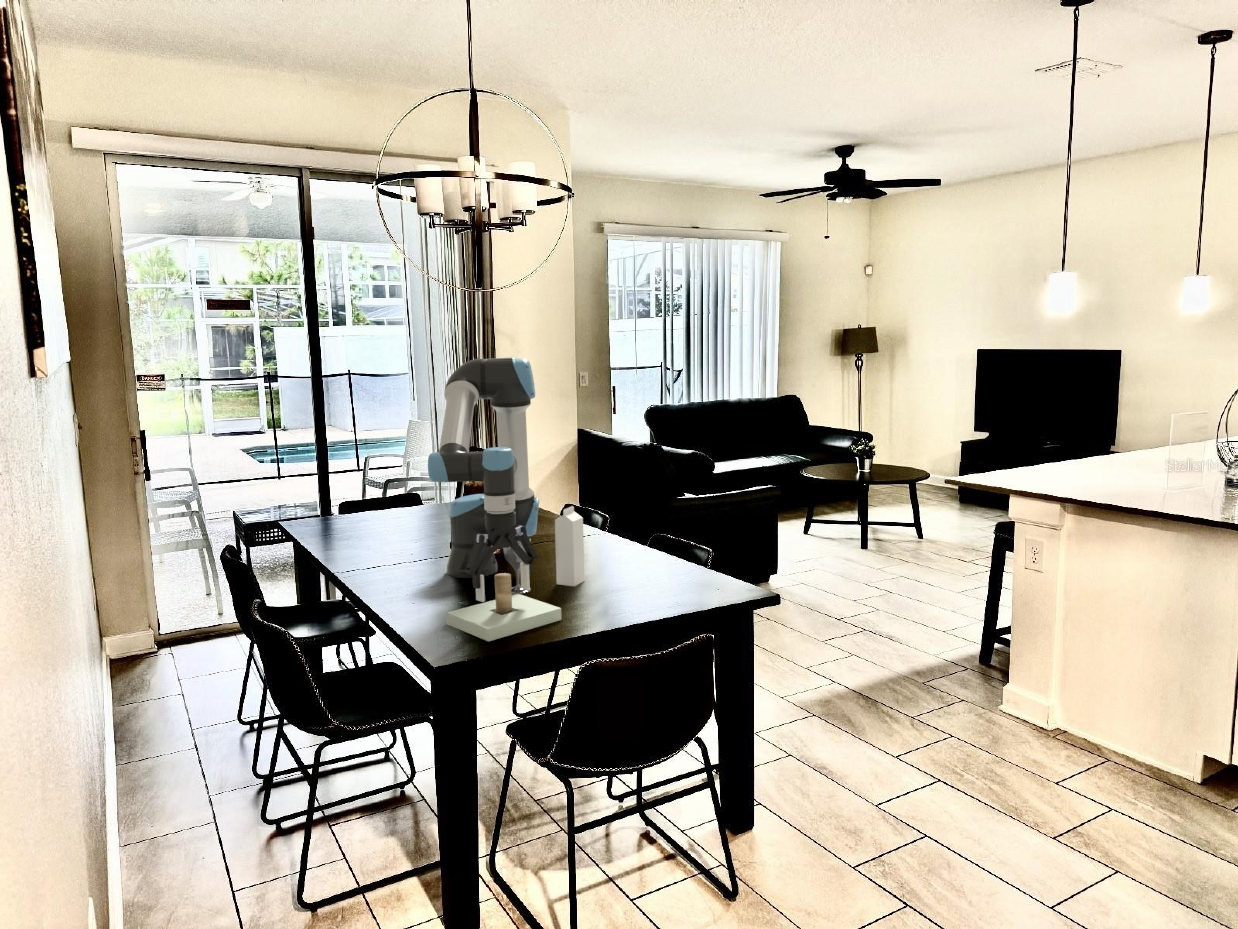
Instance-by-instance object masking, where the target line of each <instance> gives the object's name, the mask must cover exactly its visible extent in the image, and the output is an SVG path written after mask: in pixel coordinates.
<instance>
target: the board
mask: <svg viewBox="0 0 1238 929" xmlns="http://www.w3.org/2000/svg"><path fill="white" fill-rule="evenodd" d="M558 621H562V608H561V607H559V606H555V605H553V604H550V603H548V602H544V601H540V600H538V599H535V598H532V597H529V596H527V595H523V594H512V612H511V613H508V614H504V615H500V614H497V613H496V599H493V600H489V601H484V602H481V603H477V604H473V605H470V606H466V607H462V608H458V609H455V610H451V611H448V612H447V611H446V625H448V626H451V627H453V628H455V629H458V630H461V631H462V632H465V633H467V634H470V635H472V636H475V637H477V638H478V639H481V640H484V641H486V642H491V641H495V640H497V639H499V640H500V639H501V638H504V637H505V638H506V637H509V636H512V635H515V634H517V633H522V632H525V631H528V630H532V629H535V628H536V629H537V628H539V627H542V626H546V625H548V624H552V623H554V622H555V623H556V622H558Z"/></svg>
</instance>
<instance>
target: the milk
mask: <svg viewBox="0 0 1238 929" xmlns="http://www.w3.org/2000/svg"><path fill="white" fill-rule="evenodd" d="M562 514H563V515H561V516H559V517H558V518H555V519H554V532H555V533H554V535H555V537H554V538H555V540H554V541H555V542H554V543H555V569H556V571H555V572H556V573H555V575H556V576H555V577H556V585H561V586H567V587H568V586H569V587H577V586H578V585H580V584H582V583H583V582H585V557H584V556H585V553H584V552H585V550H584V549H585V548H584V546H585V545H584V517H582V515H580V514H579V513H577V512H576V511H575V507H574V506H573V505H571V506H569V507H567V508H564V509H563V511H562Z"/></svg>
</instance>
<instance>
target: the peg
mask: <svg viewBox="0 0 1238 929" xmlns="http://www.w3.org/2000/svg"><path fill="white" fill-rule="evenodd" d="M511 587H512V574H511V573H508V572H507V573H506V572H504V573H503V572H502V573H495V574H494V589H495V590H494V592H495V597H494V598H495V600H496V613H497V614H500V615H504V614H508V613H511V612H512V595H513V594H512V592H511Z"/></svg>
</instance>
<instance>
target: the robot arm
mask: <svg viewBox="0 0 1238 929" xmlns="http://www.w3.org/2000/svg"><path fill="white" fill-rule="evenodd" d="M444 388H445V389H444V393H443V394H444V395H443V396H444V399H445V401H446V404H445V405H446V406H445V410H444V411H445V412H444V418H443V424H442V429H441V435H440V443H439V448H438V451H437V452H431V453H430V454H429V455H428V457H427V458H428V459H427V473H428V478H429V479H430V481H431V482H435V483H458V482H459V483H460V482H461V483H463V482H483V489H484V490H483V493H475V494H469V495H464V496H460V497H458V498H455V499H454V500H453V501H452V502H451V503H450V506H449V511H450V513H449V518H450V519H449V520H450V537H451V540H450V541H451V549H450V554H449V557H448V561H447V564H446V573H447V576H449V577H453V578H460V579H472V587H473V588H474V589H475V601H478V602H481V603H485V602H486V594H485V592H486V591H485V577H487V576H491V575H493V574H494V575H495V574H496V573H497V572H498V561H497V559H496V556H495V554H494V553H496V551H497V550H503V548H508V547H509V546H510V547H511V548H512V550H513V551H514V552H515V553H516V554H517V555H518V556H519V558H520V559H521V560H522V561H523V562H524V563H520V586H521V588H522V589H525V590H530V589H531V587H530V584H531V582H530V576H532V565H534V562H535V561H537V560H538V556H539V555H538V554H537V553H536V550H535V549H534V547H533V544H532V541H531V542H530V540H529V538H528V536H530V537H532V536H534V535H535V534H536V533H537V527H538V526H537V525H538V516H539V508H540V507H539V505H540V498H539V497H536V496H535V491H534V490H533V489H532V488H530V483H529V482H530V481H529V480H530V479H529V476H530V475H529V459H528V458H529V455H528V454H529V453H528V432H527V412H526V411H527V409H528V408H529V407H530V406H531V405H532V402H531V400H532V399H534V398H535V397H536V386H535V381H534V375H533V370H532V364H531V363H530V361H529V360H528V359H527V358H521V357H500V358H499V357H497V358H496V357H492V358H474V359H471V360H468V361H466V362H465V363H463V364H461V365H460V366H458V367H457V368H456V369H455V370H454V372H452V373H451V375H450V376H449V377H448V380H447V382H446V384H445V387H444ZM479 400H490V407H492V408H493V409H494V410H495V412H496V413H495V414H496V430H497V431H496V434H497V447H496V446H494V447H489V448H485V449H483V451H470V444H471V434H472V427H473V419H474V418H473V417H474V409H475V406H476V404H477V403H478V401H479ZM516 535H518V537H519V539H520V541H521V543H522V545H523V547H524V550H525V551H524V550H523V549H522V548H521V547H520V546H519V544H518V542H517V541H516V540H515V539H514V537H515V536H516ZM525 552H526V553H525Z"/></svg>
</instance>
